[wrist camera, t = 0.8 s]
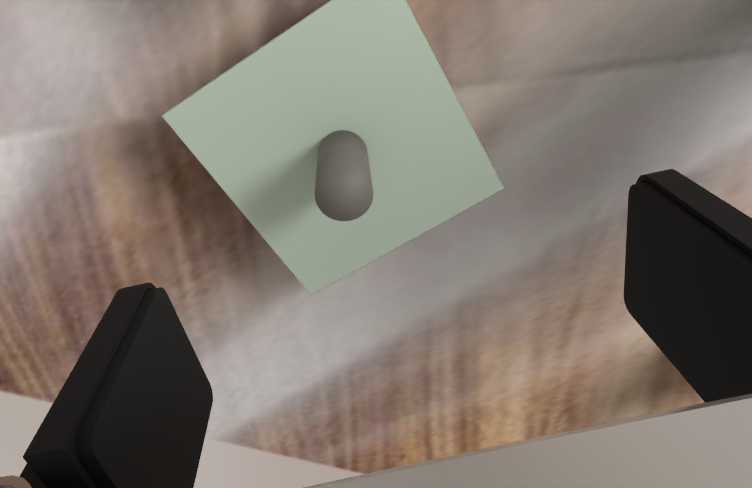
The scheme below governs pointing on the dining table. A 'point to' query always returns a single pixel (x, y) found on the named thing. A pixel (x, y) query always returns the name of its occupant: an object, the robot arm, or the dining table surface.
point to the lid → (338, 139)
